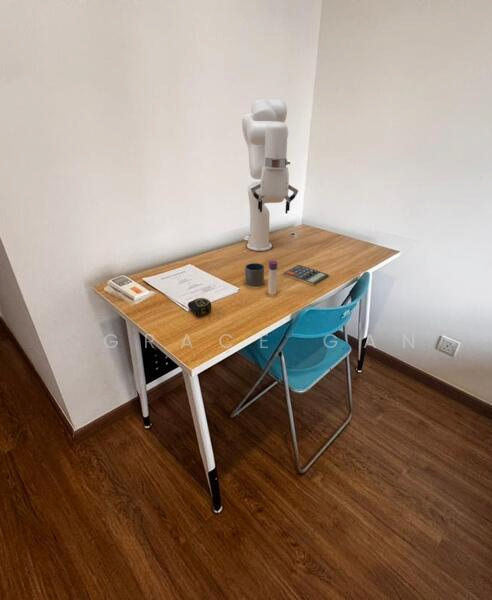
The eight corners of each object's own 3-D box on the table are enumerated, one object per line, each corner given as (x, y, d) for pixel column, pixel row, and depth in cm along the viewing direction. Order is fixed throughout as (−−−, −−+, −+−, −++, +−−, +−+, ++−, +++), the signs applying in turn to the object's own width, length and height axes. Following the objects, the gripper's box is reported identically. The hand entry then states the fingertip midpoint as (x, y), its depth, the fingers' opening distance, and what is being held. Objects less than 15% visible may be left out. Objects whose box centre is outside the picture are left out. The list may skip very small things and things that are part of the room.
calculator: (298, 264, 143) (328, 273, 135) (298, 266, 143) (328, 275, 135) (283, 272, 135) (313, 283, 127) (283, 274, 135) (313, 285, 127)
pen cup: (241, 285, 126) (241, 267, 122) (252, 278, 131) (252, 261, 128) (257, 290, 123) (257, 272, 119) (267, 283, 128) (267, 265, 124)
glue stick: (266, 294, 120) (267, 262, 113) (270, 291, 122) (271, 259, 115) (273, 297, 118) (274, 264, 112) (277, 293, 120) (278, 261, 114)
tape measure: (187, 310, 109) (186, 300, 107) (206, 304, 112) (205, 295, 110) (195, 319, 104) (194, 309, 102) (215, 313, 107) (214, 303, 105)
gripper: (299, 162, 115) (296, 210, 124) (251, 160, 116) (251, 208, 125) (300, 166, 109) (296, 215, 118) (249, 163, 109) (249, 213, 118)
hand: (273, 212), depth 121 cm, fingers open, 9 cm apart
